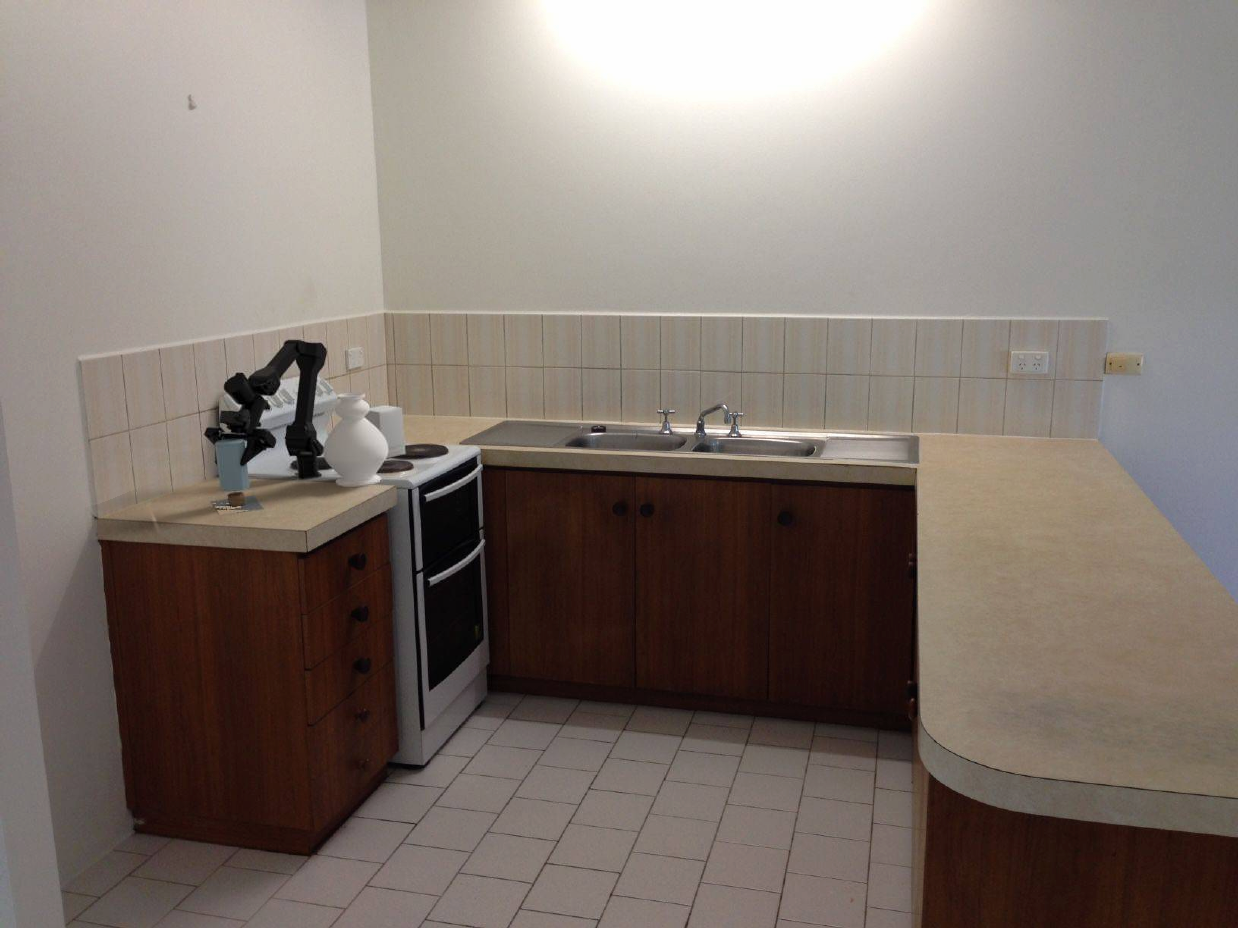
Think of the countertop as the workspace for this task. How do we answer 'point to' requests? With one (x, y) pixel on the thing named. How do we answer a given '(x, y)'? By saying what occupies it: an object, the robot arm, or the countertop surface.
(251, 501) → the mat
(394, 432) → the supplement box
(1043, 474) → the countertop surface
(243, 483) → the tumbler
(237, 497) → the brown block
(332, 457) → the decorative vase
